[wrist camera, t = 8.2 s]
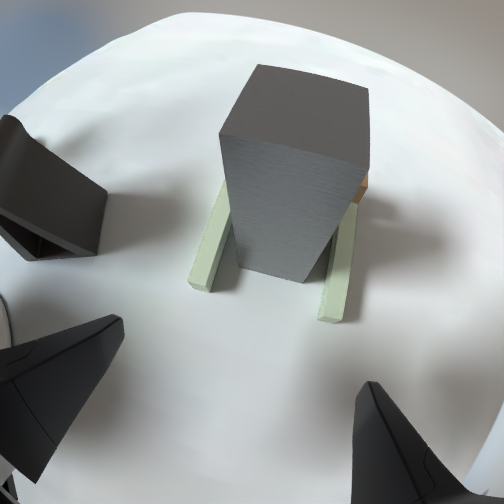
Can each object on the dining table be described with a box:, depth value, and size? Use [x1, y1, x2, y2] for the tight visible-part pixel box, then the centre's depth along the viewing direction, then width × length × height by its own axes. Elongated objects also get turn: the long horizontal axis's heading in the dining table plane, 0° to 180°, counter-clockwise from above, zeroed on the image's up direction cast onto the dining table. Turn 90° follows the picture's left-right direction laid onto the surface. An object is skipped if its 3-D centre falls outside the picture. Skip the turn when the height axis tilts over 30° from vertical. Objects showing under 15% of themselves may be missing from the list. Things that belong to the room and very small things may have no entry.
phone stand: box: [0, 115, 108, 261], centre depth 15 cm, size 9×6×12 cm, turn 93°
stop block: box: [219, 64, 370, 284], centre depth 14 cm, size 4×4×12 cm
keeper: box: [188, 172, 368, 323], centre depth 18 cm, size 10×10×4 cm
